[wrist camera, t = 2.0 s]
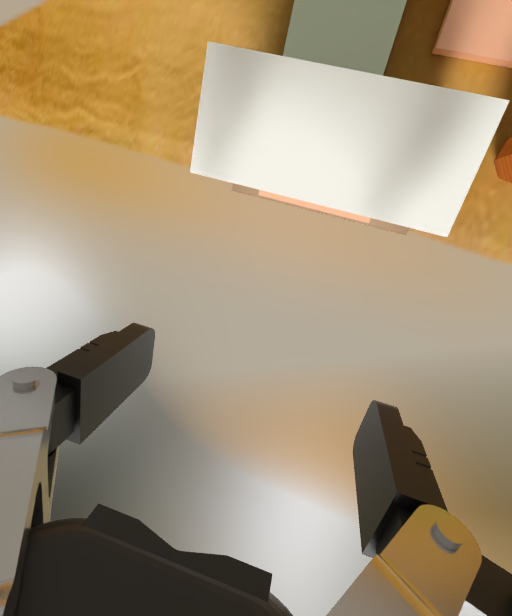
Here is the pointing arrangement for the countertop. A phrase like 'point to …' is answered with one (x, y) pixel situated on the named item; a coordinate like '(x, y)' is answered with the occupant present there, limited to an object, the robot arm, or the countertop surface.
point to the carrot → (505, 162)
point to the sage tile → (344, 32)
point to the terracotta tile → (477, 32)
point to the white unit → (341, 139)
